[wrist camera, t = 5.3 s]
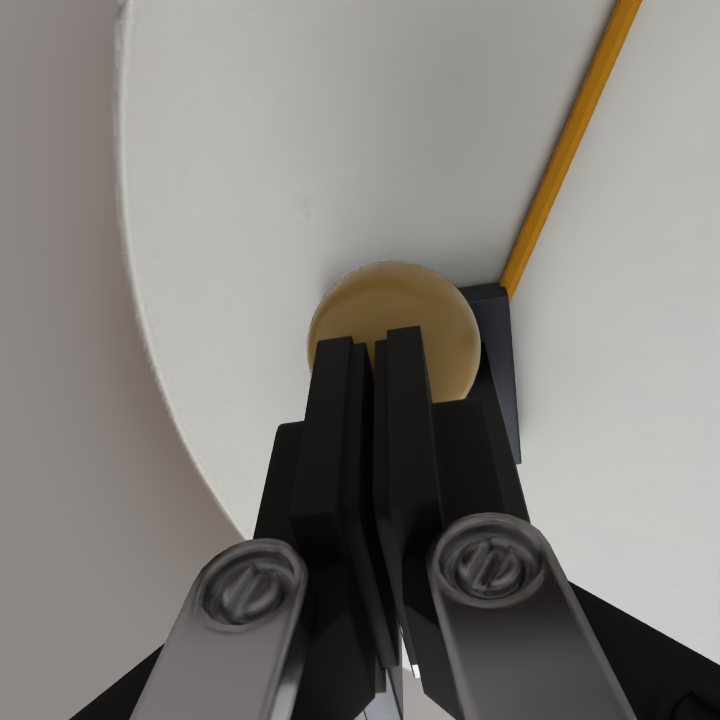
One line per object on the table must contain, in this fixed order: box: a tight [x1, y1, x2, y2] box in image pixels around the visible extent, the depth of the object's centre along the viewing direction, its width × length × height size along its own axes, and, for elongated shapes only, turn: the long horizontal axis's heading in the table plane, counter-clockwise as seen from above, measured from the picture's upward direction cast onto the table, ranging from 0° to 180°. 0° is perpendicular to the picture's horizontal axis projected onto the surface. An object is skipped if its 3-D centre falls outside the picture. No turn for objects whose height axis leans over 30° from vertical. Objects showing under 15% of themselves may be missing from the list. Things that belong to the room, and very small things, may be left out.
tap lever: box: [307, 261, 481, 678], centre depth 15 cm, size 12×3×3 cm, turn 11°
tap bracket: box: [363, 282, 531, 720], centre depth 22 cm, size 8×7×13 cm
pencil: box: [499, 0, 642, 303], centre depth 23 cm, size 19×1×1 cm, turn 165°
